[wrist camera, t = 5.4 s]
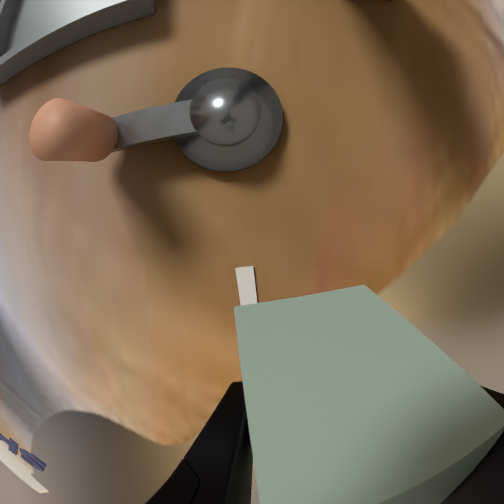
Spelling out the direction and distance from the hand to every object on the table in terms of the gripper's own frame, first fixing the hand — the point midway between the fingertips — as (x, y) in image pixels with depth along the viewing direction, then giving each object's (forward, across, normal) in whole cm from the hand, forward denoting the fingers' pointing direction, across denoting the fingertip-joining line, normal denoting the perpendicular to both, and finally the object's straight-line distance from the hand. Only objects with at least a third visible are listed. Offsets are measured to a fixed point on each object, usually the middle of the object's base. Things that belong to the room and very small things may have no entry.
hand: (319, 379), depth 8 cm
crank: (+11, +6, -10) cm, 16 cm away
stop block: (+2, 0, 0) cm, 2 cm away
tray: (+12, +15, -28) cm, 34 cm away
